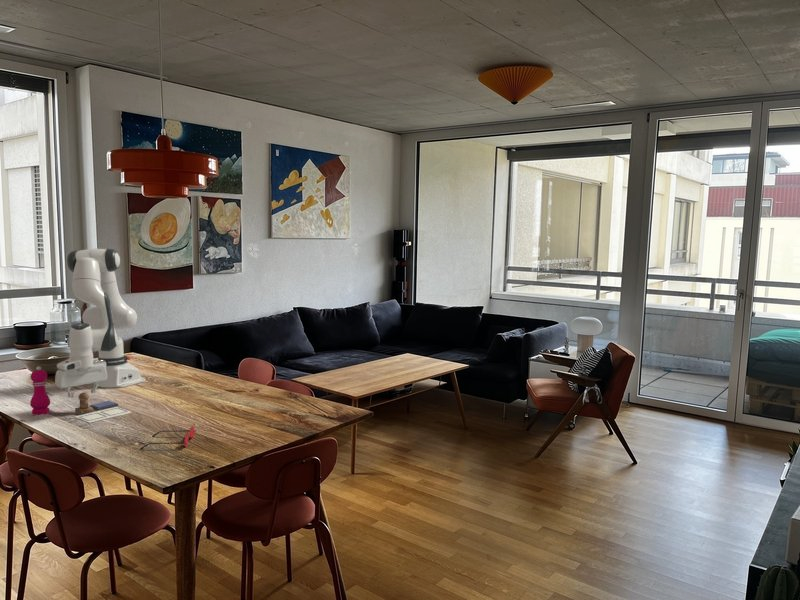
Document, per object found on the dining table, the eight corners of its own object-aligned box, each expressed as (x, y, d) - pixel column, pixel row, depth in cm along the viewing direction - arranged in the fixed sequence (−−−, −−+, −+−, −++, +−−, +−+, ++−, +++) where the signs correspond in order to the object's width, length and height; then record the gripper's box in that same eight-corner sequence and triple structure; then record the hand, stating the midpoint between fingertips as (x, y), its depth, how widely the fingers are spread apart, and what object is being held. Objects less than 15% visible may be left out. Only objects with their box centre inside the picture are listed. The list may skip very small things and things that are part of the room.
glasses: (187, 450, 216) (186, 436, 215) (139, 450, 214) (138, 437, 214) (196, 436, 229) (196, 424, 229) (152, 437, 228) (151, 424, 227)
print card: (116, 407, 262) (116, 406, 262) (131, 412, 255) (131, 411, 255) (74, 417, 248) (74, 416, 248) (89, 423, 241) (89, 422, 241)
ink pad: (109, 403, 269) (109, 400, 268) (118, 406, 264) (118, 403, 264) (89, 407, 261) (89, 404, 261) (97, 410, 257) (97, 407, 257)
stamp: (87, 409, 258) (86, 390, 258) (93, 412, 256) (92, 392, 255) (75, 412, 254) (74, 392, 253) (81, 414, 252) (80, 394, 251)
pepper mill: (30, 416, 247) (27, 368, 245) (31, 411, 254) (29, 365, 252) (50, 414, 251) (48, 367, 248) (51, 409, 257) (49, 363, 255)
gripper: (102, 357, 262) (103, 389, 264) (52, 365, 246) (53, 398, 247) (109, 359, 259) (110, 391, 260) (60, 367, 242) (61, 400, 244)
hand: (82, 394), depth 254 cm, fingers open, 8 cm apart
